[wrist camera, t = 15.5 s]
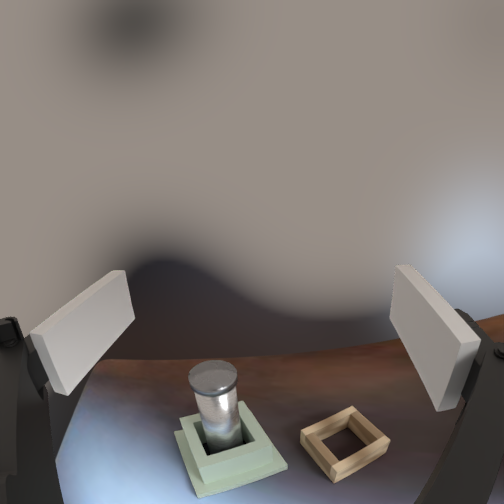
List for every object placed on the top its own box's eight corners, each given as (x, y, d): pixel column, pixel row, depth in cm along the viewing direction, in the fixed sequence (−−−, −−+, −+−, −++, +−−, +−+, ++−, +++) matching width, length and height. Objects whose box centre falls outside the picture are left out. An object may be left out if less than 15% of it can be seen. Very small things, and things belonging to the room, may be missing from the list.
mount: (349, 419, 40) (352, 405, 39) (385, 452, 32) (390, 440, 31) (300, 442, 37) (300, 430, 36) (333, 483, 29) (337, 472, 28)
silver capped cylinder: (238, 436, 39) (227, 355, 34) (252, 460, 34) (244, 381, 30) (203, 446, 37) (183, 366, 32) (215, 472, 32) (195, 395, 28)
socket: (250, 414, 43) (248, 391, 41) (287, 468, 32) (288, 448, 31) (175, 435, 38) (167, 413, 37) (198, 498, 28) (190, 480, 26)
